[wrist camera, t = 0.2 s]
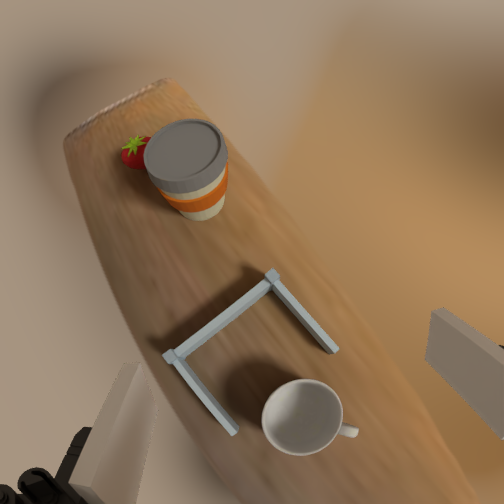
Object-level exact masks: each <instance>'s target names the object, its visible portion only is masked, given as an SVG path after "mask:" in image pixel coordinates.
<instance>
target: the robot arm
mask: <svg viewBox="0 0 504 504" xmlns="http://www.w3.org/2000/svg"><path fill="white" fill-rule="evenodd" d="M425 360H426V361H427V362H428V363H429V364H430V365H431V366H432V367H433V368H434V369H435V370H436V371H437V372H438V373H439V374H440V375H441V376H442V377H443V378H444V379H445V380H446V382H448V383H449V385H450V386H451V387H453V389H454V390H455V391H456V392H457V393H458V394H459V395H460V396H461V397H462V398H463V399H464V400H465V401H466V402H467V403H468V404H469V405H470V406H471V407H472V408H473V409H474V411H475V412H476V413H477V414H478V415H479V416H480V417H481V418H482V419H483V420H484V421H485V422H486V423H487V425H488V426H489V427H490V428H491V429H492V430H493V431H494V432H495V433H496V435H497V436H499V438H500V439H501V440H503V439H504V346H501V345H497V344H496V343H494V342H493V341H491V340H490V339H489V338H487V337H486V336H484V335H483V334H481V333H480V332H479V331H477V330H476V329H474V328H473V327H471V326H470V325H469V324H467V323H466V322H464V321H463V320H461V319H460V318H458V317H457V316H455V315H454V314H453V313H451V312H449V311H448V310H446V309H445V308H444V307H443V308H440V309H437V310H434V311H432V312H431V321H430V329H429V336H428V343H427V349H426V355H425ZM157 412H158V408H157V406H156V403H155V401H154V398H153V396H152V393H151V390H150V388H149V385H148V383H147V380H146V377H145V375H144V372H143V369H142V366H141V364H140V362H138V363H124V364H123V366H122V368H121V370H120V372H119V374H118V377H117V378H116V380H115V382H114V384H113V386H112V388H111V390H110V392H109V394H108V396H107V398H106V400H105V403H104V404H103V407H102V409H101V411H100V413H99V415H98V417H97V419H96V421H95V423H94V426H93V428H91V427H83V428H82V429H81V430H80V431H79V432H78V433H77V434H76V435H75V436H74V438H73V440H72V442H71V444H70V447H69V449H68V451H67V455H65V457H64V459H63V461H62V463H61V465H60V467H59V470H58V472H57V474H56V476H55V478H53V477H52V476H51V474H50V473H49V472H48V471H46V470H45V469H43V468H37V467H36V468H32V469H29V470H27V471H25V472H24V473H23V474H22V475H21V476H20V478H19V480H18V489H19V490H20V491H21V492H22V493H23V494H17V493H16V492H15V491H14V490H13V489H12V488H11V487H9V486H8V485H4V484H0V504H136V500H137V495H138V491H139V487H140V481H141V477H142V473H143V469H144V465H145V461H146V456H147V452H148V448H149V444H150V440H151V436H152V432H153V428H154V424H155V420H156V416H157Z"/></svg>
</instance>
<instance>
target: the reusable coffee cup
mask: <svg viewBox="0 0 504 504" xmlns="http://www.w3.org/2000/svg"><path fill="white" fill-rule="evenodd" d="M227 159H228V151H227V147H226V144H225V141H224V138H223V135H222V133H221V132H220V130H219V129H218V128H217V127H216V126H215V125H213V124H212V123H210V122H208V121H205V120H201V119H184V120H179V121H175V122H173V123H171V124H168V125H166V126H165V127H163V128H161V129H160V130H159V131H158V132H156V133H155V134H154V135H153V136H152V138H151V139H150V140H149V142H148V143H147V145H146V148H145V151H144V163H145V166H146V169H147V172H148V175H149V178H150V180H151V181H152V182H153V184H154V185H155V186H156V187H157V189H158V190H159V192H160V193H161V194H162V195H163V197H164V198H165V199H166V200H167V201H168V202H169V204H170V205H172V206H173V207H174V208H176V209H177V210H179V212H180V213H181V214H182V215H183V216H184V217H186V218H188V219H190V220H194V221H203V220H207V219H209V218H211V217H213V216H214V215H216V214H217V213H218V212H219V211H220V210H221V208H222V206H223V204H224V200H225V191H226V188H227V182H228V162H227Z"/></svg>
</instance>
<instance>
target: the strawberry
mask: <svg viewBox="0 0 504 504" xmlns="http://www.w3.org/2000/svg"><path fill="white" fill-rule="evenodd" d="M150 139H151V137H146V136H144V137H139V134H138V136H137V137H136V138H135V139H132V138H131V137H130V142H127V143H125V144H127V145H126V146H125V147H123V148H121V149H123V151H122V154H121V157H122V161H123V163H124V164H125V165H127V166H128V167H130V168H133V169H146V166H145V163H144V151H145V148H146V145H147V143H148V142H149V140H150Z"/></svg>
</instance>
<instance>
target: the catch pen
mask: <svg viewBox="0 0 504 504" xmlns="http://www.w3.org/2000/svg"><path fill="white" fill-rule="evenodd" d="M279 279H280V275H279V274H278V273H277V272H276V271H275V269H274V268H272V269H271V270H270V271H268V272H267V273H266V274H265V279H263V280H262V281H261V282H260V283H258V284H257V285H256V286H255V287H254V288H252V289H251V290H250V291H249V292H247V293H246V294H245V295H244V296H242V297H241V298H240V299H238V300H237V301H236V302H235V303H233V304H232V305H231V306H230V307H228V308H227V309H226V310H225V311H223V312H222V313H221V314H220V315H218V316H217V317H216V318H214V319H213V320H212V321H211V322H209V323H208V324H207V325H205V326H204V327H203V328H202V329H200V330H199V331H198V332H197V333H195V334H194V335H193V336H191V337H190V338H189V339H187V340H186V341H185V342H184V343H182V344H181V345H180V346H178V347H177V348H176V349H169V350H168V351H167V352H165V353H164V354H163V355H162V356H163V357H164V359H165V360H166V362H167V363H168V364H173V365H174V366H175V367H176V369H177V370H178V371H179V373H180V374H181V375H182V377H183V378H184V379H185V381H186V382H187V383H188V384H189V386H190V387H191V388H192V389H193V391H194V392H195V393H196V395H197V396H198V397H199V398H200V399H201V401H202V402H203V403H204V404H205V406H206V407H207V408H208V409H209V410H210V412H211V413H212V414H213V415H214V416H215V418H216V419H217V420H218V421H219V422H220V423H221V424H222V426H223V427H224V428H225V429H226V430H227V431H228V432H229V434H230V435H231V436H233V435H235V434H236V433H237V432H238V430H239V426H238V425H237V424H236V423H235V421H234V420H233V419H232V418H231V417H230V416H229V415H228V413H227V412H226V411H225V410H224V409H223V408H222V406H221V405H220V404H219V403H218V402H217V400H216V399H215V398H214V397H213V396H212V394H211V393H210V392H209V391H208V389H207V388H206V387H205V386H204V384H203V383H202V382H201V381H200V379H199V378H198V377H197V376H196V374H195V373H194V372H193V371H192V369H191V368H190V367H189V365H188V364H187V363H186V361H185V360H184V359H186V358H185V357H186V356H188V355H189V354H190V353H191V352H193V351H194V350H195V349H197V348H198V347H199V346H201V345H202V344H203V343H204V342H206V341H207V340H208V339H210V338H211V337H212V336H213V335H215V334H216V333H217V332H219V331H220V330H221V329H222V328H224V327H225V326H226V325H227V324H229V323H230V322H231V321H233V320H234V319H235V318H236V317H238V316H239V315H240V314H241V313H243V312H244V311H245V310H246V309H248V308H249V307H250V306H251V305H253V304H254V303H255V302H256V301H257V300H259V299H260V298H261V297H262V296H264V295H265V294H266V293H267V292H269V291H272V290H273V291H274V292H275V294H276V295H277V296H278V297H279V298H280V299H281V300H282V302H283V303H284V304H285V305H286V306H287V307H288V308H289V310H290V311H291V312H292V313H293V314H294V315H295V316H296V318H297V319H298V320H299V321H300V322H301V323H302V324H303V326H304V327H305V328H306V329H307V330H308V331H309V332H310V333H311V335H312V336H313V337H314V338H315V339H316V340H317V341H318V342H319V344H320V345H321V346H322V347H323V348H324V349H325V350H326V352H327V353H328V354H334V353H336V352H337V351H338V350H339V349H340V348H339V347H338V346H337V345H336V344H335V343H334V342H333V341H332V339H331V338H330V337H329V336H328V335H327V334H326V333H325V332H324V330H323V329H322V328H321V327H320V326H319V325H318V324H317V323H316V321H315V320H314V319H313V318H312V317H311V316H310V315H309V313H308V312H307V311H306V310H305V309H304V308H303V307H302V306H301V304H300V303H299V302H298V301H297V300H296V299H295V298H294V297H293V295H292V294H291V293H290V292H289V291H288V290H287V289H286V288H285V286H284V285H283V284H282V283H281V282H280V281H279Z"/></svg>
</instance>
